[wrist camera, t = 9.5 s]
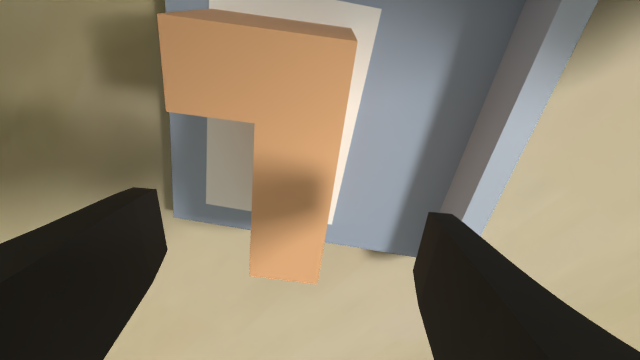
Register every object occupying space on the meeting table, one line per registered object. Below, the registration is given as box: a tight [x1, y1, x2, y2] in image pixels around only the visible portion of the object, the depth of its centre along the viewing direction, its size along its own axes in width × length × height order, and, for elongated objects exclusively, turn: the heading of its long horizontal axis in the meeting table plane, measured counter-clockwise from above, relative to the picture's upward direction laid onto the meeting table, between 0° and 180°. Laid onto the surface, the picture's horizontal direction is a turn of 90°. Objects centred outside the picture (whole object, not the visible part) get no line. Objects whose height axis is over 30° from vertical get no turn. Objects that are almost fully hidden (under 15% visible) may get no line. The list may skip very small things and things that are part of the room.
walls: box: [439, 0, 598, 236], centre depth 16 cm, size 16×16×4 cm
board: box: [165, 0, 526, 257], centre depth 17 cm, size 16×16×1 cm
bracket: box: [157, 9, 358, 284], centre depth 15 cm, size 10×6×5 cm, turn 173°
